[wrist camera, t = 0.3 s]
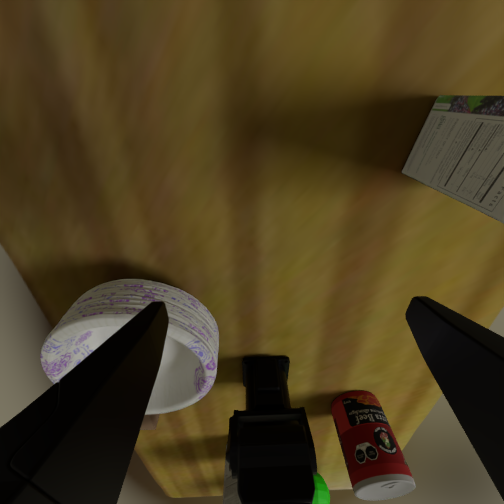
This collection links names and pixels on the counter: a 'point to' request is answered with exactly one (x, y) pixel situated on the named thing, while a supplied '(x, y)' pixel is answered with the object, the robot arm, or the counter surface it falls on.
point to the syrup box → (463, 152)
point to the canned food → (370, 448)
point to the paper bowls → (123, 310)
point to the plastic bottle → (320, 491)
